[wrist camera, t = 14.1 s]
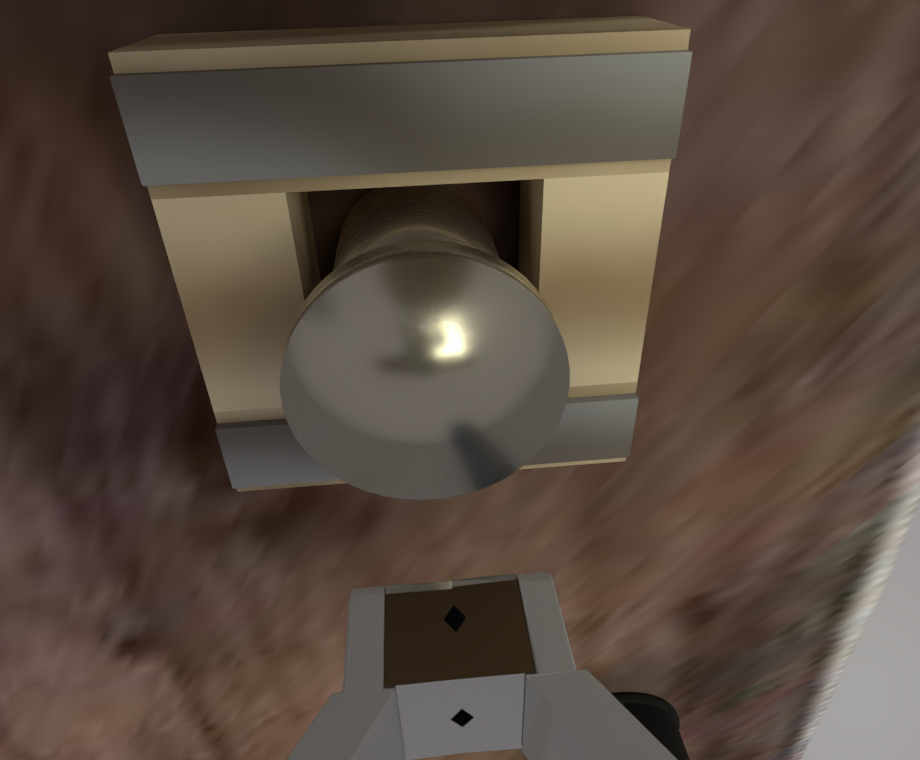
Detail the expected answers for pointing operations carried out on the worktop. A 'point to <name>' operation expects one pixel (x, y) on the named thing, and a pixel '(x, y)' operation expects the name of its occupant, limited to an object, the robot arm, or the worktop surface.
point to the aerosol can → (656, 720)
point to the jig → (407, 164)
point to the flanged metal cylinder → (422, 352)
